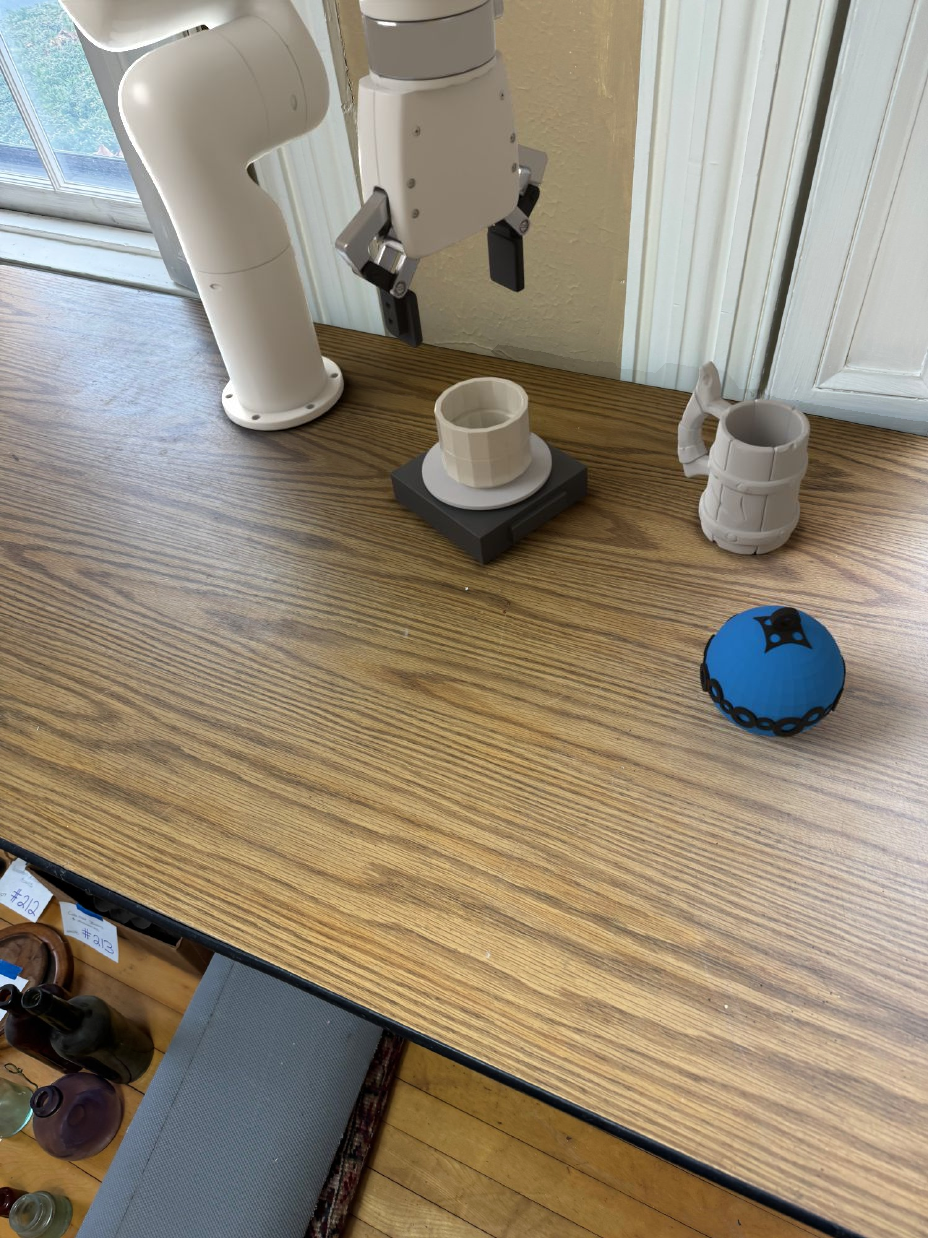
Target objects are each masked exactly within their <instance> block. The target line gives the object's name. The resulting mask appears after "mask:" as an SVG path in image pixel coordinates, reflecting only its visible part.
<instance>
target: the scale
mask: <svg viewBox="0 0 928 1238" xmlns="http://www.w3.org/2000/svg"><path fill="white" fill-rule="evenodd" d="M531 446H532V457H531V463H530V464H529V466H528V467H527V469H526V470H525V471H524V472H523V473H522V474H521V475H519V476H518V477H517V478H516V479H514V480H513V481H511V482H509V483H507V484H505V485H502V486H499V487H494V488H474V487H469V486H466V485H464V484H462V483H459V482H457V481H456V480H454V479H453V478H451V477H450V476H449V475H448V474H447V472H446V470H445V468H444V466H443V461H442V455H441V449H440V443H439V441H438V442H436V443H435V444H434V445H433V446H432V447H431V448H429V449H427V450H426V451H424V452H423V453H421V454H419V455H418V456H415V457H414V458H412V459H411V460H409V461H407V462H406V463H404V464H402V465H401V466H399V467H397V468H396V469H395V470H393V471H391V472H389V475H390V480H391V484H392V489H393V493H394V499H395V500H396V501H397V502H398V503H400V504H401V505H402V506H404V507H405V508H407V509H408V510H409V511H411V512H412V513H413V514H415V515H416V516H417V517H418V518H420V519H421V520H423V521H424V522H425V523H427V524H428V525H429V526H431V527H432V528H433V529H435V530H436V531H437V532H438V533H440V534H441V535H442V536H444V537H445V538H446V539H448V540H449V541H451V542H452V543H453V544H455V545H456V546H457V547H459V548H460V549H461V550H463V551H464V552H465V553H467V554H468V555H469V556H471V558H473V559H474V560H476V561H477V562H479V563H480V564H481V565H483V566H484V565H486V564H487V563H488V562H490V561H492V560H493V559H494V558H496V557H498V556H499V555H501V554H502V553H503V552H505V551H506V550H508V549H509V548H511V547H512V546H513V545H515V544H516V543H518V542H519V541H521V540H522V539H523V538H525V537H527V536H528V535H529V534H531V533H532V532H534V531H536V530H537V529H538V528H540V527H541V526H543V525H544V524H545V523H547V522H548V521H550V520H551V519H553V518H554V517H556V516H557V515H559V514H561V513H562V512H563V511H565V510H566V509H567V508H569V507H570V506H572V505H573V504H575V503H576V502H577V501H580V500H581V499H582V498H584V497H585V496H586V495H588V493H589V492H588V491H589V489H588V488H589V485H588V483H589V482H588V479H589V477H588V474H589V473H588V471H589V470H588V467H589V466H588V465H586V464H585V463H582V462H581V461H580V460H577V459H575V458H574V457H573V456H570V455H569V454H567V453H566V452H564V451H562V450H560V449H559V448H557V447H555V446H554V445H552V444H551V443H549V442H547V441H546V440H543V439H542V438H541V437H540V436H539V435H537V434H536V433H534V432H532V431H531Z"/></svg>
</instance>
